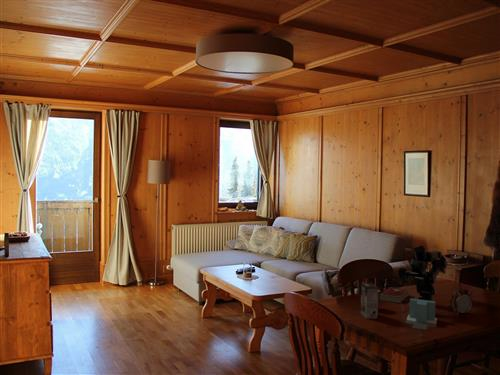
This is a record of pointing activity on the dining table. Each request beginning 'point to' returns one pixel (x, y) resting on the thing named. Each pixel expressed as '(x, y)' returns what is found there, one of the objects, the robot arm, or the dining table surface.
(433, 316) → the T block
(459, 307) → the alarm clock
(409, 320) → the mat
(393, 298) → the hardcover book
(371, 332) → the dining table surface
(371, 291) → the coffee box
